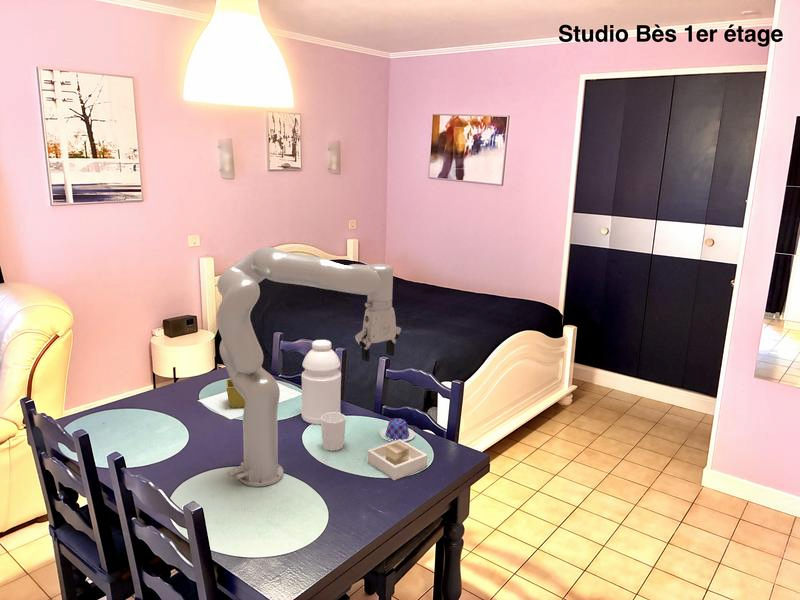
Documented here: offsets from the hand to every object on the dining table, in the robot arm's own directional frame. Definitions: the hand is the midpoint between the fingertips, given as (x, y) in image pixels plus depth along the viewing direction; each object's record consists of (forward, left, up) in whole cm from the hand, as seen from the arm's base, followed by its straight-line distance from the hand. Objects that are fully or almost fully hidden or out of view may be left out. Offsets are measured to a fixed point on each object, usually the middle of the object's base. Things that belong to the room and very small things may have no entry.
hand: (377, 357), depth 186 cm
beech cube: (-2, -13, -30) cm, 33 cm away
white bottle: (-2, +29, -31) cm, 42 cm away
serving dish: (-2, -13, -30) cm, 33 cm away
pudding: (+11, +2, -31) cm, 33 cm away
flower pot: (-21, +55, -31) cm, 66 cm away
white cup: (-11, +8, -31) cm, 33 cm away
